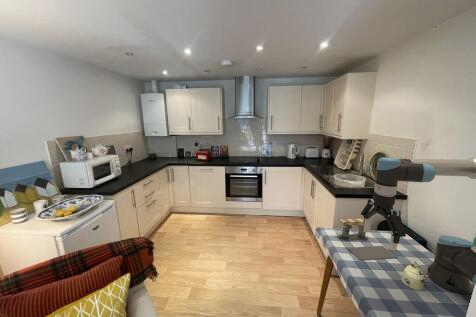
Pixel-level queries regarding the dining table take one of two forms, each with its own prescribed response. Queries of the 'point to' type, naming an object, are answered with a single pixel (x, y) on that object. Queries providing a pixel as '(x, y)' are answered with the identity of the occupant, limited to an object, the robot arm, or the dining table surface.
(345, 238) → the stand
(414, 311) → the dining table surface
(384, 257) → the mat
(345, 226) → the bread loaf
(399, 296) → the dining table surface
